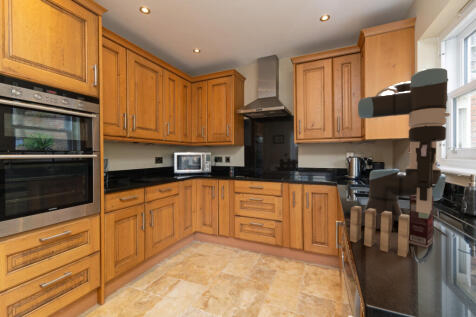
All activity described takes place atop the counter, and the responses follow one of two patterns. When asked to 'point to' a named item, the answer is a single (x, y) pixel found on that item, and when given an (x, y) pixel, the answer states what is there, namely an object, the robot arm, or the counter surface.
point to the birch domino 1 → (355, 224)
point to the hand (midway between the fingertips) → (424, 210)
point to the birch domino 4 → (403, 235)
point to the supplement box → (420, 225)
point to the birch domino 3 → (386, 231)
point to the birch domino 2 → (370, 227)
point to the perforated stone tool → (378, 219)
